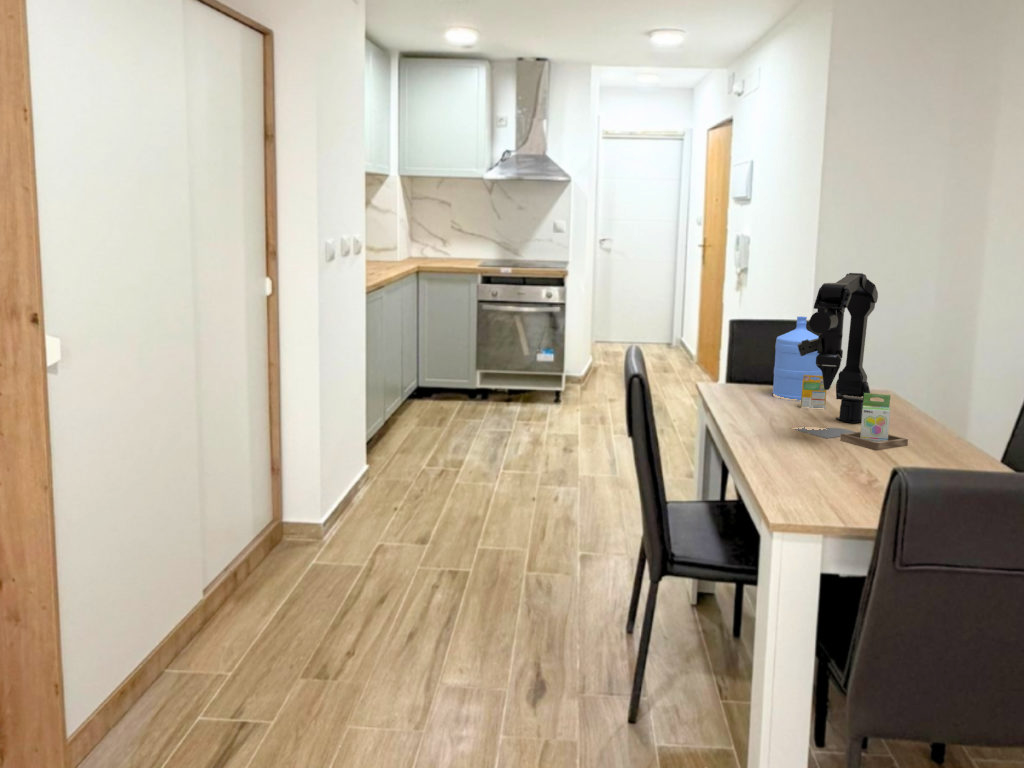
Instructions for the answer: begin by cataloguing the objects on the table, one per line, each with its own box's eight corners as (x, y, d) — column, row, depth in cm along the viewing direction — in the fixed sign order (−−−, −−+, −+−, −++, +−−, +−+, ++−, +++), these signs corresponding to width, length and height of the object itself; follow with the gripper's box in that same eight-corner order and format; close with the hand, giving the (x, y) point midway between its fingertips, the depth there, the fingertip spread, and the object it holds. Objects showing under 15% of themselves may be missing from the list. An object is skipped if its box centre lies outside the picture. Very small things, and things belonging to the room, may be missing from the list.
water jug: (826, 405, 311) (833, 319, 307) (778, 404, 311) (784, 318, 307) (812, 396, 327) (818, 315, 322) (766, 395, 327) (772, 314, 322)
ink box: (859, 444, 255) (863, 395, 253) (859, 441, 259) (863, 392, 257) (887, 446, 253) (891, 397, 251) (887, 443, 257) (891, 394, 254)
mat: (824, 425, 279) (824, 423, 279) (862, 435, 267) (862, 433, 267) (788, 429, 272) (788, 427, 272) (826, 439, 260) (826, 437, 260)
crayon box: (824, 411, 302) (827, 374, 300) (825, 412, 299) (827, 376, 297) (800, 409, 303) (802, 373, 301) (800, 411, 300) (803, 374, 298)
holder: (871, 437, 264) (871, 430, 264) (907, 446, 254) (908, 439, 253) (840, 441, 258) (840, 434, 258) (876, 450, 248) (876, 443, 248)
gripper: (803, 325, 269) (799, 379, 272) (798, 332, 252) (794, 390, 255) (844, 327, 265) (840, 382, 268) (842, 334, 248) (838, 393, 251)
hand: (827, 387), depth 261 cm, fingers open, 9 cm apart
